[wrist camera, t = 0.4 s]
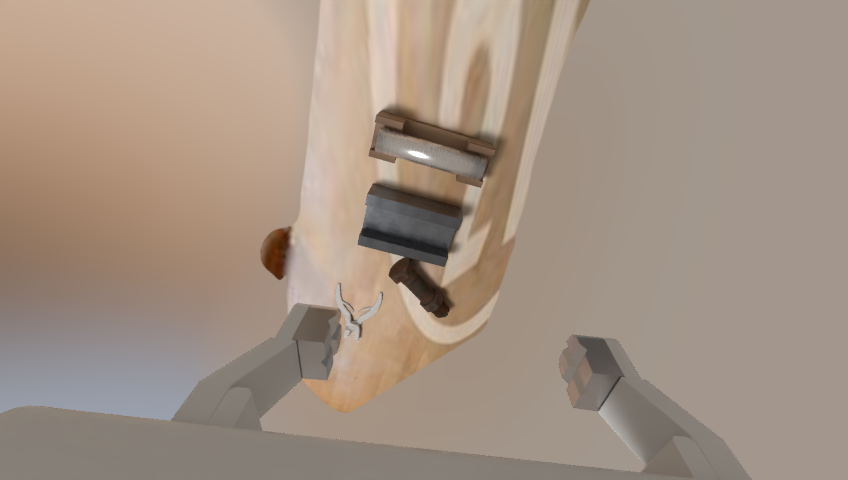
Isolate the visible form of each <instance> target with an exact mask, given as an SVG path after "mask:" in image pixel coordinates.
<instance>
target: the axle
mask: <svg viewBox="0 0 848 480" xmlns="http://www.w3.org/2000/svg"><path fill="white" fill-rule="evenodd" d="M375 152H379V153H382V154H386V155H389V156H393V157H396V158H400V159H403V160H407V161H410V162H414V163H417V164H421V165H424V166H428V167H431V168H435V169H438V170H442V171H445V172H449V173H452V174H456V175H459V176H463V177H466V178H470V179H473V180H477V181H480V179H481V178H482V176H483V173H484V171H485V167H486V162H487V159H486V158H484V157H481V156H477V155H474V154H471V153H467V152H464V151H460V150H457V149H454V148H450V147H447V146H443V145H440V144H436V143H433V142H430V141H426V140H423V139H419V138H416V137H413V136H409V135H406V134H402V133H399V132H396V131H392V130H389V129H385V128H382V127H380V129H379V132H378V136H377V140H376V145H375Z"/></svg>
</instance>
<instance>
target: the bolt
mask: <svg viewBox="0 0 848 480" xmlns="http://www.w3.org/2000/svg"><path fill="white" fill-rule="evenodd" d="M415 266H416V265H415V264H414V263H413V262H412V261H411V260H410V259H409V258H408V257H406V258H403V259H401V260H399V261H398V262H396V263H395V264H394V265H393V266H392V268H391V269H390V272H389V277H390V278H391V279H392V280H393V281H394V282H395V283H396V284H398V283H399V282H402V283H403V284H404V285H405V286H406V287H407V288H408V289H409V290H410V291H411V292H412V293H413V294H414V295H415V296H416V297H417V298H418V299H419V300H420V301H421V302H420V305H421V306H422V307H423V308H424V309H425V310H426V311H427V312H432V313H433V314H434V315H435V316H436V317H438V318H442V317H446V316H447V315H448V312H449V307H448V306H447V305H446V304H445V303H444V302H443V301H442V300H443V296H442V295H441V294H440V293H439V292H438V291H437V290H435V289H433V290H432V289H431V288H430V287H429V286H428V285H427V284H426V283H425V282H424V281H423V280H422V279H421V278H420V277H419V276H418V274H417V273H416V272H415V271H414V270H413V269H414V267H415Z"/></svg>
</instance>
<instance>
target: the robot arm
mask: <svg viewBox="0 0 848 480" xmlns="http://www.w3.org/2000/svg"><path fill="white" fill-rule="evenodd" d="M340 318H341V310H340V309H339V308H333V307H325V306H318V305H308V304H301V303H297V304H295V305H294V306H293V308H292V310H291V311H290V313H289V315H288V317H287V318H286V320H285V322H284V323H283V325H282V327H281V329H280V330H279V332H278V334H277V336H276V337H275V338H269V339H268V340H266V341H264V342H263V343H261V344H260V345H258V346H256V347H255V348H253V349H251V350H250V351H248V352H247V353H245V354H243V355H242V356H240V357H238V358H237V359H235V360H234V361H232V362H230V363H229V364H227V365H225V366H224V367H222V368H221V369H219V370H217V371H216V372H214V373H212V374H211V375H209V376H207V377H206V378H204V379H202V380H201V381H199V383H198V384H197V386H196V387H195V389H194V390H193V391H192V392H191V394H190V395H189V396H188V398H187V399H186V400H185V402H184V403H183V404H182V406H181V407H180V409H179V410H178V411H177V413H176V414H175V415H174V417H173V418H172V419H171V421H167V420H158V419H149V418H140V417H130V416H122V415H113V414H104V413H95V412H84V411H76V410H68V409H59V408H52V407H44V406H23V407H18V408H14V409H11V410H8V411H6V412H3V413H1V414H0V480H751V478H750V477H749V475H748V474H747V473H746V471H745V470H744V468H743V467H742V465H741V464H740V463H739V461H738V460H737V458H736V457H735V456H734V454H733V453H732V451H731V450H730V449H729V447H728V446H727V444H726V443H725V442H724V440H723V439H722V438H720V437H719V436H718V435H716V434H715V433H714V432H712V431H711V430H710V429H709V428H707V427H706V426H705V425H704V424H702V423H701V422H700V421H698V420H697V419H696V418H695V417H693V416H692V415H691V414H689V413H688V412H687V411H685V410H684V409H683V408H682V407H680V406H679V405H678V404H677V403H675V402H674V401H673V400H671V399H670V398H669V397H667V396H666V395H665V394H663V393H662V392H661V391H660V390H659V389H657V388H656V387H655V386H653V385H652V384H651V383H650V382H648V381H647V380H643V379H641V377H640V376H639V374H638V372H637V371H636V369H635V367H634V366H633V364H632V362H631V361H630V359H629V358H628V356H627V354H626V353H625V351H624V349H623V348H622V346H621V344H620V343H619V341H617V340H616V339H611V338H599V337H590V336H581V335H571V336H570V337H569V339H568V340H567V344H568V348H566V349H564V350H563V351H562V353H561V355H560V360H559V368H560V373H561V375H562V378H563V379H564V380H565V381H566V382H567V383H568V384H569V385H568V387H567V392H568V395H569V398H570V401H571V403H572V406H573V408H579V409H586V410H593V411H599V412H598V413H599V414H600V415H601V416H602V417H603V419H604V420H605V421H606V422H607V423H608V424H609V426H610V427H611V428H612V429H613V430H614V431H615V432H616V434H617V435H618V436H619V437H620V438H621V439H622V440H623V441H624V443H625V444H626V445H627V446H628V447H629V448H630V449H631V450H632V452H633V453H634V454H635V455H636V456H637V457H638V458H639V460H640V461H641V462H642V463H643V464H644V465H645V466H646V467H645V468H644V469H643V470H642V471H641V472H630V471H621V470H612V469H603V468H594V467H585V466H575V465H566V464H558V463H549V462H539V461H530V460H521V459H512V458H502V457H493V456H485V455H475V454H466V453H457V452H447V451H439V450H430V449H421V448H412V447H403V446H393V445H384V444H375V443H366V442H357V441H348V440H339V439H329V438H320V437H312V436H302V435H294V434H285V433H275V432H267V431H262V427H261V424H260V420H259V418H261V417H262V416H263V415H264V414H265V413H266V412H267V411H268V410H269V409H270V408H272V407H273V406H274V404H276V403H277V402H278V401H279V400H280V399H281V398H282V397H283V396H284V395H286V394H287V393H288V392H289V391H290V390H291V389H292V388H293V387H294V386H295V385H297V384H298V383H299V382H300V381H301V380H302V378H305V379H318V380H327V379H328V377H329V374H330V371H331V368H332V365H333V355H334V354H336V353H337V351H338V348H339V345H340V340H341V332H342V328H341V325H340V324H339V321H340Z"/></svg>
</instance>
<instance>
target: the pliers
mask: <svg viewBox="0 0 848 480" xmlns="http://www.w3.org/2000/svg"><path fill="white" fill-rule="evenodd" d="M335 298H336V302H337V305H338V308H339V309H340V310H341V312H342V313H343V314H344V315H345V320H346V325H347V326H346V329H345V334H344V338H345V339H346V338H347V336H348V335H349V333H350V331H353V332H354V336H355V341H358V340H359V336H360V327H359V325H361V323H362V322H363V321H364V320H366V319H368V318H370V317H372V316H373V315H374V314H375V313H376V312H377V310H378V309H379V307H380V304H381V301H382V292H380V293H379V296H378V298H377V301H376V302H375V304H374V306H372V307H366V308H363V309H361V310H360V311H359V312H358V313H360V312H362V311H363V310H367V309H368V310H369V311H368V312H366V313H364V314H362V315H361V316H360V317H359V319H358V320H351V318H352V317H351V313H350V312H349V310H348V309H347V308H346V307H345V306H344V304H345V305H347V306H348V307H349V308H350V309H351V310H352V312H354V310H353V308H352V307H351V305H349V304H348V303H347V302H345V301H343V300H342V297H341V291H340V283H338V284H337V287H336V292H335Z"/></svg>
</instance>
